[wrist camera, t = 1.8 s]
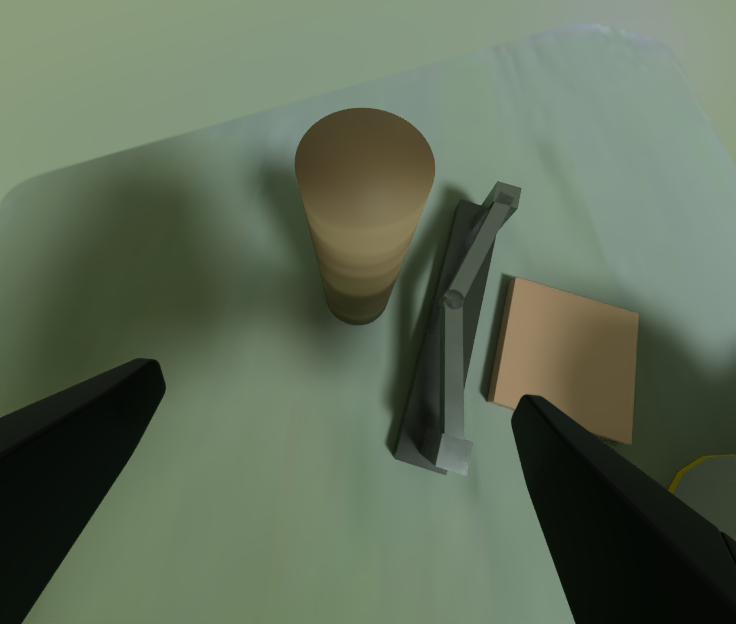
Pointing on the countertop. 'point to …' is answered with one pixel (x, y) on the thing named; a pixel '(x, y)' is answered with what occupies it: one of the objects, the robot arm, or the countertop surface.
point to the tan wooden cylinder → (362, 204)
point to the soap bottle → (710, 490)
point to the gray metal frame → (452, 338)
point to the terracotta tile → (568, 357)
